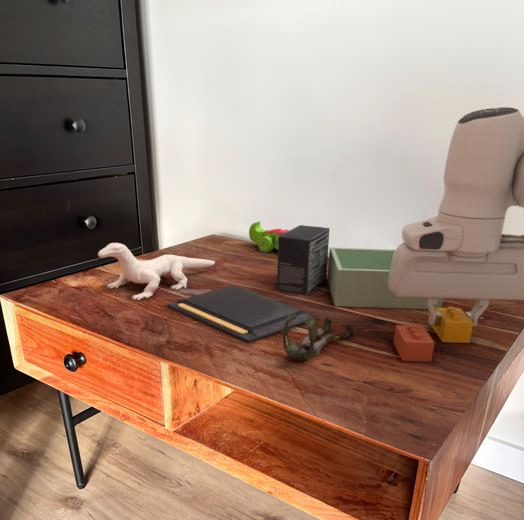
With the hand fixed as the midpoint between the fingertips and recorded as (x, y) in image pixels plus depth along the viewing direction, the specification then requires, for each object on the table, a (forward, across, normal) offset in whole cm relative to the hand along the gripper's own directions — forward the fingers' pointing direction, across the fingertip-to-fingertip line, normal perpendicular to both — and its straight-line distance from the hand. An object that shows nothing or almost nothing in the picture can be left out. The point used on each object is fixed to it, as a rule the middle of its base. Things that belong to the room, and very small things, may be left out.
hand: (451, 324), depth 84 cm
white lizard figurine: (+2, +47, -20) cm, 52 cm away
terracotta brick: (+2, +7, +7) cm, 10 cm away
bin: (+2, +7, -18) cm, 20 cm away
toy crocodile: (+2, +24, -45) cm, 51 cm away
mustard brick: (+2, 0, 0) cm, 2 cm away
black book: (+2, +32, -6) cm, 33 cm away
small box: (+2, +22, -22) cm, 31 cm away
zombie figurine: (+2, +21, +7) cm, 22 cm away
